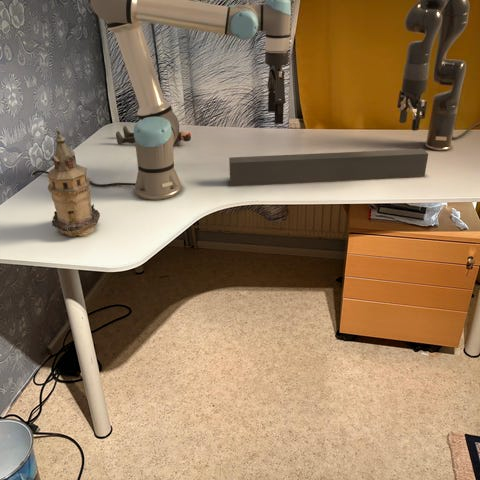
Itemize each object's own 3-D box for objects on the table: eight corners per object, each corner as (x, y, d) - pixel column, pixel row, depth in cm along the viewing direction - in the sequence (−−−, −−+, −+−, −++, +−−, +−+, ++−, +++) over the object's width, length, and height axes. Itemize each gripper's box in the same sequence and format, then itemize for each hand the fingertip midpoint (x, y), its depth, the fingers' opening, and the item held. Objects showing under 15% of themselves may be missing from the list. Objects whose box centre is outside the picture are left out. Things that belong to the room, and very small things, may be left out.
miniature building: (80, 214, 164) (63, 117, 149) (111, 225, 157) (96, 125, 142) (44, 231, 154) (22, 130, 140) (75, 244, 147) (55, 139, 133)
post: (230, 186, 181) (230, 162, 177) (229, 180, 185) (229, 157, 181) (424, 176, 186) (428, 153, 182) (419, 171, 190) (422, 148, 186)
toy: (131, 119, 231) (198, 119, 225) (133, 133, 234) (199, 134, 228) (106, 139, 209) (180, 139, 203) (109, 154, 212) (182, 155, 206)
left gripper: (296, 58, 158) (293, 128, 168) (281, 44, 179) (279, 106, 190) (271, 59, 157) (269, 129, 168) (259, 44, 179) (258, 107, 189)
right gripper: (438, 80, 164) (429, 132, 172) (415, 71, 177) (408, 119, 185) (415, 82, 163) (408, 134, 171) (394, 72, 175) (388, 120, 183)
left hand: (275, 117), depth 179 cm, fingers open, 13 cm apart
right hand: (408, 126), depth 178 cm, fingers open, 8 cm apart
